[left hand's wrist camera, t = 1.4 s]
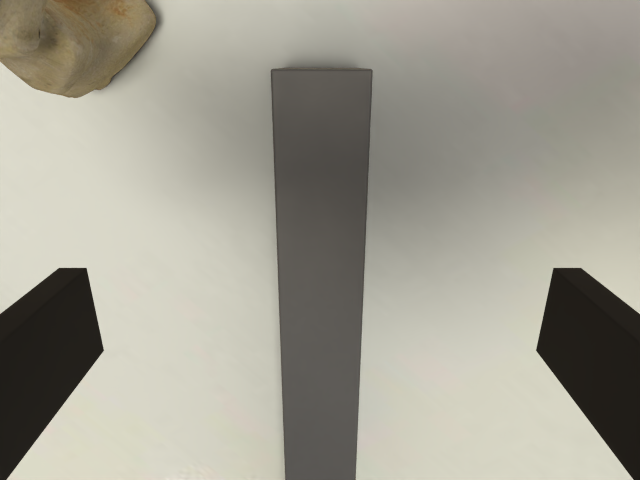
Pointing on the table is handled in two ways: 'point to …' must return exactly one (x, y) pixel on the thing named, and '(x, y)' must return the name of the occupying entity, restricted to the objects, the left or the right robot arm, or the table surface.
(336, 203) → the post
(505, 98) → the table surface
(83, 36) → the sculpture
